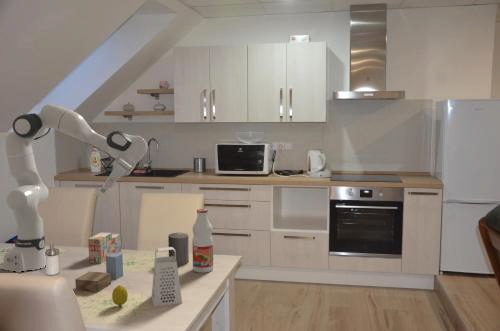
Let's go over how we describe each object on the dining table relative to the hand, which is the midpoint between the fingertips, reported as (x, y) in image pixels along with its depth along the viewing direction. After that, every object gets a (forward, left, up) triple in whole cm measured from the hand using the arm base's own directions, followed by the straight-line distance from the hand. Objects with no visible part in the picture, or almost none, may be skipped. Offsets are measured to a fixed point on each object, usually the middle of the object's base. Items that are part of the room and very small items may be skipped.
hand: (103, 190), depth 207 cm
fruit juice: (+41, +15, -38) cm, 58 cm away
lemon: (+26, -32, -38) cm, 56 cm away
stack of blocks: (-14, +22, -38) cm, 46 cm away
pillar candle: (+26, +22, -38) cm, 51 cm away
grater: (+40, -22, -38) cm, 59 cm away
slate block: (+7, -4, -38) cm, 38 cm away
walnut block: (+5, -17, -38) cm, 42 cm away
